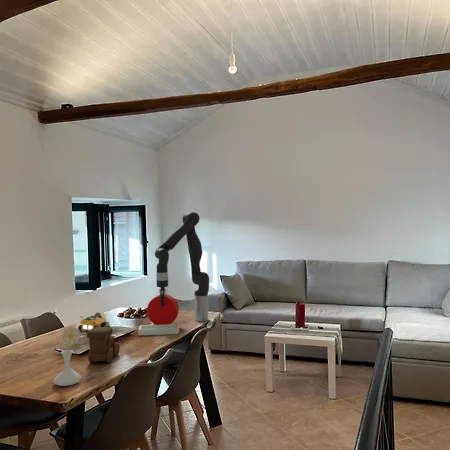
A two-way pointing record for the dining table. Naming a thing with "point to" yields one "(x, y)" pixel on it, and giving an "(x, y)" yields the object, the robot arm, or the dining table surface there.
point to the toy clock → (162, 310)
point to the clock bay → (159, 329)
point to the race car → (93, 322)
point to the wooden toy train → (102, 344)
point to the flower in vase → (68, 375)
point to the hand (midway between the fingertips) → (162, 304)
